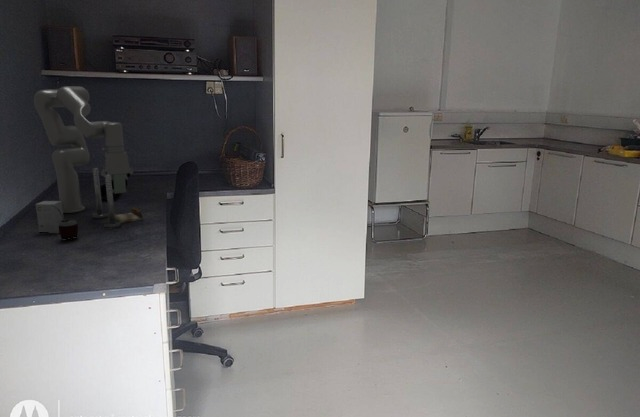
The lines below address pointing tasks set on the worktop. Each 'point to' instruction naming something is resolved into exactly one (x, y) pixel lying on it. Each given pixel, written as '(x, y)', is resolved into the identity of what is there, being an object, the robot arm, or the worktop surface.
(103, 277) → the worktop surface
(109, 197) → the near post
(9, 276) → the worktop surface
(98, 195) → the far post
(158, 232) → the worktop surface
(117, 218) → the breaker board
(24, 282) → the worktop surface
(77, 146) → the robot arm
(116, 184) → the green block
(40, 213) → the small box
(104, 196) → the muzzle brake
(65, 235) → the mate gourd
